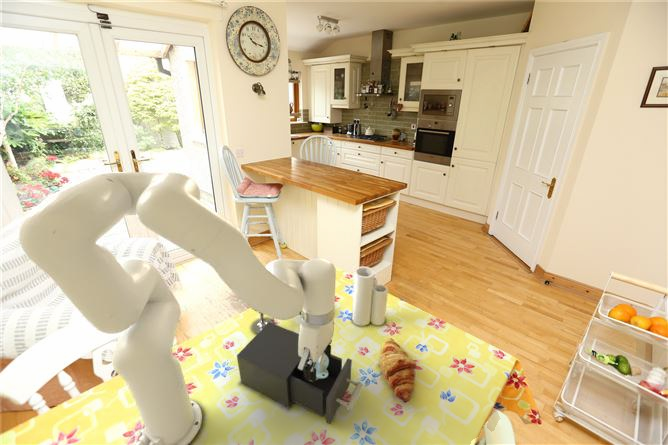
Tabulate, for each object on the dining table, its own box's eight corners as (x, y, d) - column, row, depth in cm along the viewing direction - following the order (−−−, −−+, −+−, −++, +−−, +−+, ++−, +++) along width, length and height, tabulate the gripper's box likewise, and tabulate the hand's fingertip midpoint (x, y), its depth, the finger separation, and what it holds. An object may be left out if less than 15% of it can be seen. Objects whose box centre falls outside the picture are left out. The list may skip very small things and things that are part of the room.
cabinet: (314, 366, 85) (314, 340, 81) (288, 408, 74) (286, 379, 70) (271, 347, 91) (268, 321, 87) (241, 383, 80) (236, 355, 76)
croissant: (379, 351, 95) (369, 334, 92) (407, 339, 93) (398, 322, 90) (394, 416, 75) (382, 398, 72) (431, 402, 74) (420, 383, 71)
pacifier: (303, 384, 70) (328, 384, 70) (302, 365, 67) (328, 366, 67) (306, 359, 77) (328, 359, 77) (305, 341, 74) (328, 341, 74)
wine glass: (246, 330, 98) (240, 294, 92) (261, 315, 104) (257, 280, 98) (265, 338, 95) (261, 301, 89) (279, 322, 101) (276, 287, 95)
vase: (353, 326, 100) (356, 278, 92) (350, 312, 107) (353, 265, 98) (385, 324, 101) (391, 276, 93) (381, 310, 108) (385, 264, 99)
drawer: (365, 389, 78) (367, 366, 74) (347, 433, 68) (348, 409, 64) (305, 362, 85) (304, 340, 82) (280, 398, 75) (278, 375, 72)
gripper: (321, 285, 75) (320, 337, 82) (282, 330, 60) (285, 388, 67) (348, 294, 72) (345, 347, 79) (313, 343, 57) (313, 402, 64)
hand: (317, 365), depth 73 cm, fingers closed on pacifier, 7 cm apart
